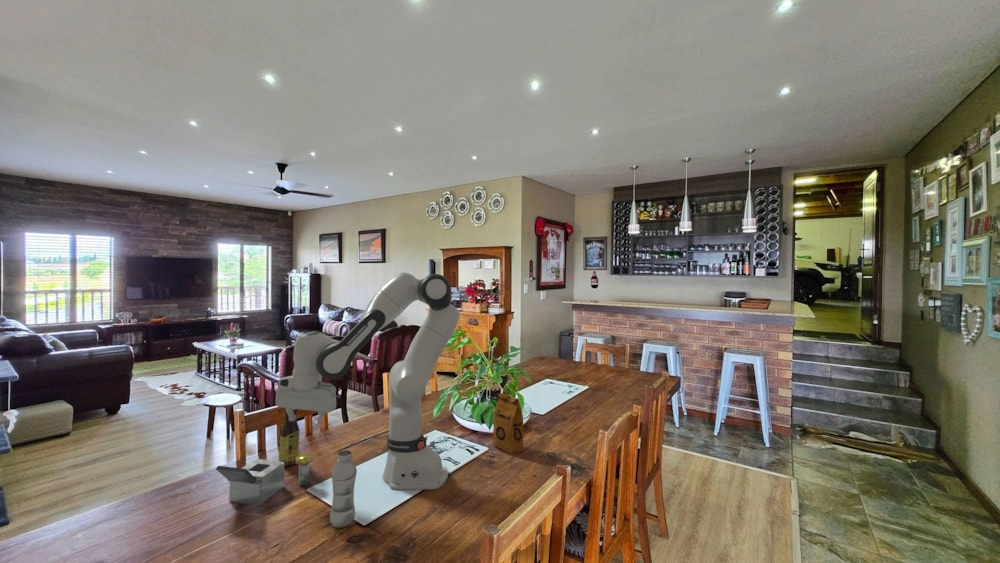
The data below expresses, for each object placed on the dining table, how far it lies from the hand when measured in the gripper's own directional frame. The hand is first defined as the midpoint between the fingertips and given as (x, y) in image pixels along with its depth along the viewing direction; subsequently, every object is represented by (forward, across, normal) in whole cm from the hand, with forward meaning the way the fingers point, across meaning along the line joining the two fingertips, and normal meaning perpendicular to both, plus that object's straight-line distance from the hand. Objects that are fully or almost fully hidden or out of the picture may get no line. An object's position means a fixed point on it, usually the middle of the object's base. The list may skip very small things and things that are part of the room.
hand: (305, 422), depth 134 cm
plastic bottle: (+20, -25, +17) cm, 36 cm away
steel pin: (+20, -1, 0) cm, 20 cm away
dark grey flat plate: (+11, +9, +18) cm, 23 cm away
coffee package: (+19, -62, -43) cm, 78 cm away
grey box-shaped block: (+20, +9, +8) cm, 24 cm away
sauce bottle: (+20, +14, -12) cm, 27 cm away
